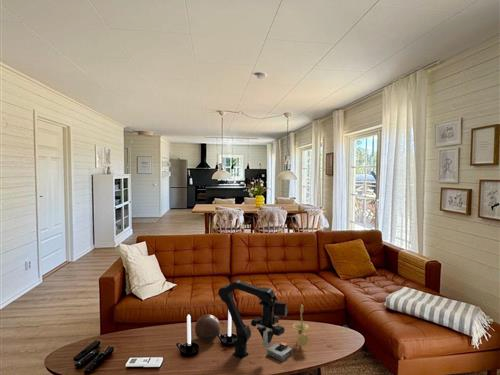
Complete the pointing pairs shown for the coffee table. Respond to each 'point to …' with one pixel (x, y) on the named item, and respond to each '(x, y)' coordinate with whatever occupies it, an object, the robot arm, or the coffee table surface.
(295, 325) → the wall sconce
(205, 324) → the wooden sphere
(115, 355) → the coffee table surface
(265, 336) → the wedge pin
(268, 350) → the rosette plate
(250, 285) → the robot arm
